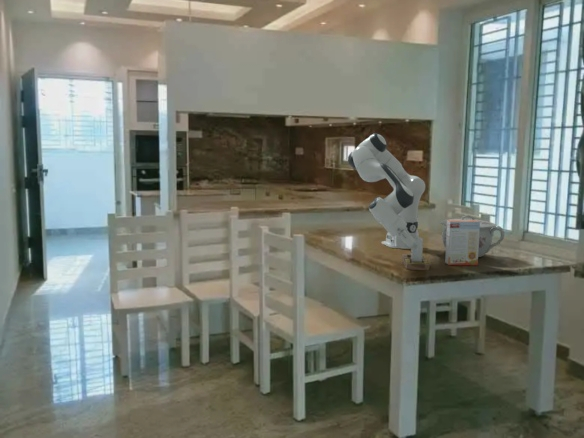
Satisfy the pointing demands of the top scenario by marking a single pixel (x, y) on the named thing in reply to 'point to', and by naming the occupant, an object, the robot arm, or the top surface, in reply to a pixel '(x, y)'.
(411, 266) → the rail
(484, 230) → the chamber pot
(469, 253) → the cracker box
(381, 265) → the top surface
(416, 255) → the peg
